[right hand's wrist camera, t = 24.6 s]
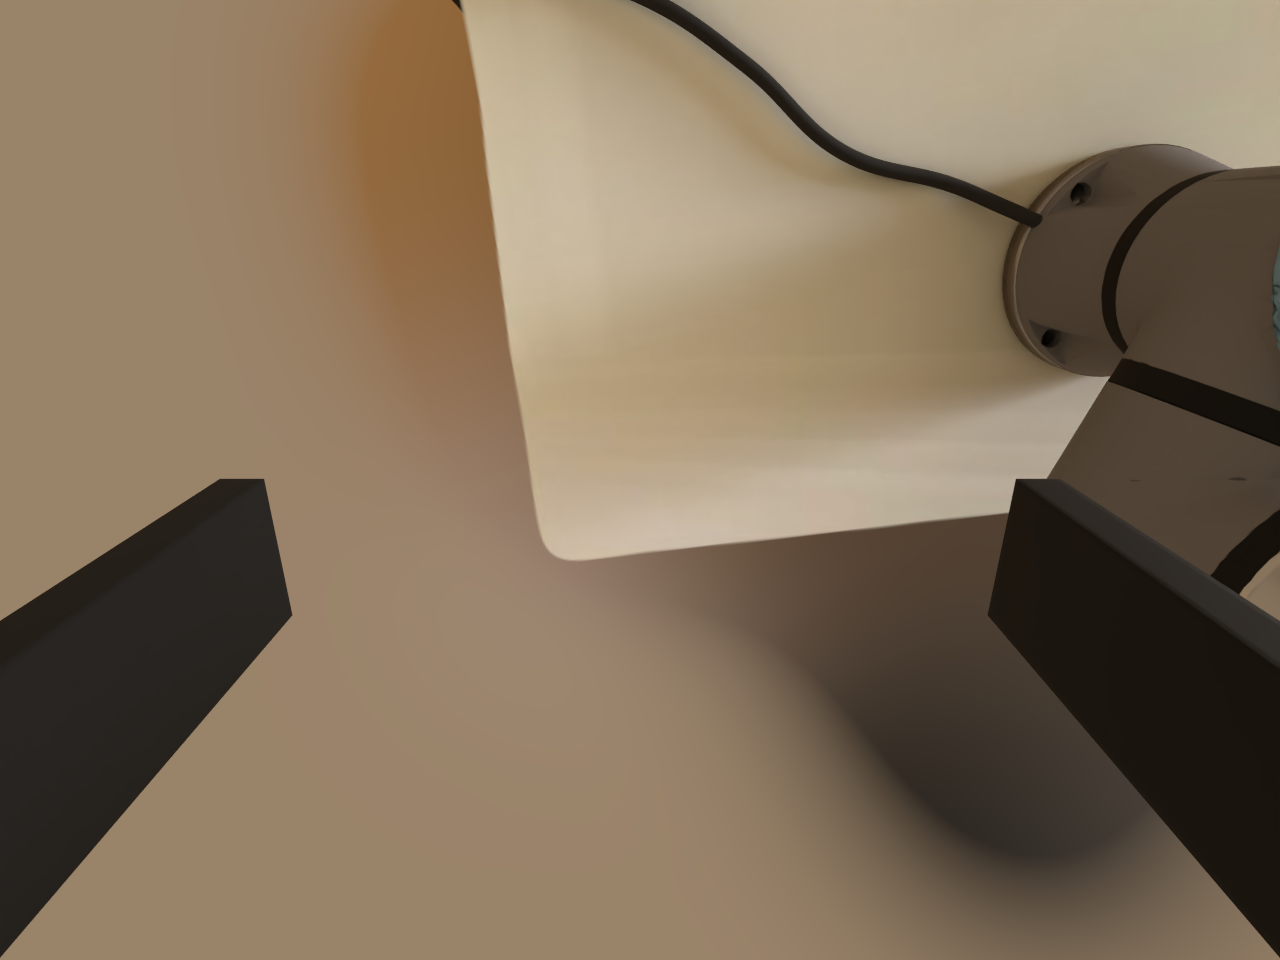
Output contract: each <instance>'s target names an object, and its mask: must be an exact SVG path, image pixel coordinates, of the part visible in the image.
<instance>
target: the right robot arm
mask: <svg viewBox="0 0 1280 960" xmlns="http://www.w3.org/2000/svg"><path fill="white" fill-rule="evenodd" d="M452 1H453V2H454V3H455V4H456V5H457V7H458V8H459V9H460V10H461V11H462V12H463V8H462V3H461V0H452ZM631 1H634V2H636V3H638V4H640V5H642V6H645V7H647V8H649V9H651V10H653V11H655V12H657V13H658V14H660V15H662V16H664V17H666V18H667V19H669V20H671V21H673V22H674V23H676V24H677V25H679V26H681V27H682V28H684V29H685V30H687V31H688V32H690V33H691V34H693V35H694V36H695V37H697V38H698V39H700V40H701V41H702V42H704V43H705V44H707V45H708V46H709V47H711V48H712V49H713V50H714V51H716V52H717V53H718V54H720V55H721V56H722V57H724V58H725V59H726V60H727V61H729V62H730V63H731V64H733V65H734V66H735V67H736V68H738V69H739V70H740V71H742V72H743V73H744V74H745V75H747V76H748V77H749V78H750V79H752V80H753V81H754V82H755V83H756V84H757V85H758V86H759V87H761V88H762V89H763V90H764V91H765V92H766V93H767V94H768V95H769V96H770V97H771V98H772V99H773V100H774V102H775V103H776V104H777V105H778V106H779V107H780V108H781V109H782V110H783V111H784V112H785V113H786V114H787V116H788V117H789V118H790V119H791V120H792V121H793V122H794V123H795V124H796V125H797V126H798V127H799V128H800V129H801V130H802V131H803V132H804V133H805V134H806V135H807V136H808V137H809V138H810V139H811V140H813V141H814V142H815V143H816V144H818V145H819V146H820V147H821V148H823V149H824V150H826V151H827V152H828V153H830V154H832V155H833V156H835V157H837V158H838V159H840V160H842V161H844V162H846V163H848V164H850V165H852V166H854V167H856V168H859V169H861V170H864V171H867V172H870V173H873V174H876V175H880V176H884V177H888V178H893V179H898V180H903V181H908V182H913V183H918V184H922V185H927V186H931V187H934V188H938V189H941V190H944V191H947V192H950V193H953V194H956V195H959V196H961V197H963V198H966V199H968V200H970V201H973V202H975V203H977V204H979V205H981V206H984V207H986V208H988V209H990V210H993V211H995V212H997V213H999V214H1002V215H1004V216H1006V217H1009V218H1011V219H1013V220H1015V221H1018V222H1020V223H1019V225H1018V227H1017V229H1016V231H1015V233H1014V236H1013V238H1012V241H1011V243H1010V246H1009V249H1008V252H1007V256H1006V260H1005V265H1004V272H1003V299H1004V305H1005V310H1006V313H1007V317H1008V319H1009V322H1010V324H1011V327H1012V328H1013V330H1014V332H1015V334H1016V335H1017V337H1018V338H1019V340H1020V341H1021V342H1022V343H1023V344H1024V346H1025V347H1026V348H1027V349H1028V350H1029V351H1031V352H1032V353H1033V354H1034V355H1035V356H1037V357H1038V358H1040V359H1041V360H1043V361H1045V362H1047V363H1049V364H1051V365H1054V366H1056V367H1059V368H1062V369H1064V370H1067V371H1070V372H1072V373H1076V374H1080V375H1086V376H1097V377H1106V376H1111V377H1110V378H1109V380H1108V381H1107V382H1106V384H1105V385H1104V387H1103V389H1102V390H1101V392H1100V394H1099V395H1098V397H1097V398H1096V400H1095V402H1094V403H1093V405H1092V406H1091V408H1090V410H1089V411H1088V413H1087V415H1086V416H1085V418H1084V419H1083V421H1082V423H1081V424H1080V426H1079V428H1078V429H1077V431H1076V432H1075V434H1074V436H1073V437H1072V439H1071V440H1070V442H1069V444H1068V445H1067V447H1066V449H1065V450H1064V452H1063V453H1062V455H1061V457H1060V458H1059V460H1058V461H1057V463H1056V465H1055V466H1054V468H1053V470H1052V471H1051V473H1050V474H1049V476H1048V478H1047V479H1016V482H1015V487H1014V491H1013V496H1012V501H1011V506H1010V511H1009V515H1008V520H1007V525H1006V530H1005V535H1004V539H1003V544H1002V549H1001V554H1000V559H999V563H998V568H997V573H996V578H995V582H994V587H993V592H992V597H991V602H990V607H989V611H988V616H989V617H990V618H991V620H992V621H993V622H994V623H995V624H996V625H997V627H998V628H999V629H1000V630H1001V631H1002V633H1003V634H1004V635H1005V636H1006V637H1007V638H1008V640H1009V641H1010V642H1011V643H1012V644H1013V645H1014V647H1015V648H1016V649H1017V650H1018V651H1019V652H1020V654H1021V655H1022V656H1023V657H1024V658H1025V659H1026V661H1027V662H1028V663H1029V664H1030V665H1031V667H1032V668H1033V669H1034V670H1035V671H1036V672H1037V674H1038V675H1039V676H1040V677H1041V678H1042V679H1043V681H1044V682H1045V683H1046V684H1047V685H1048V686H1049V688H1050V689H1051V690H1052V691H1053V692H1054V693H1055V695H1056V696H1057V697H1058V698H1059V699H1060V700H1061V702H1062V703H1063V704H1064V705H1065V706H1066V707H1067V709H1068V710H1069V711H1070V712H1071V713H1072V715H1073V716H1074V717H1075V718H1076V719H1077V720H1078V722H1079V723H1080V724H1081V725H1082V726H1083V727H1084V729H1085V730H1086V731H1087V732H1088V733H1089V734H1090V736H1091V737H1092V738H1093V739H1094V740H1095V742H1096V743H1097V744H1098V745H1099V746H1100V747H1101V749H1102V750H1103V751H1104V752H1105V753H1106V754H1107V755H1108V757H1109V758H1110V759H1111V760H1112V761H1113V763H1114V764H1115V765H1116V766H1117V767H1118V768H1119V770H1120V771H1121V772H1122V773H1123V774H1124V775H1125V777H1126V778H1127V779H1128V780H1129V781H1130V783H1131V784H1132V785H1133V786H1134V787H1135V788H1136V790H1137V791H1138V792H1139V793H1140V794H1141V795H1142V797H1143V798H1144V799H1145V800H1146V801H1147V802H1148V804H1149V805H1150V806H1151V807H1152V808H1153V809H1154V811H1155V812H1156V813H1157V814H1158V815H1159V817H1160V818H1161V819H1162V820H1163V821H1164V822H1165V824H1166V825H1167V826H1168V827H1169V828H1170V829H1171V831H1172V832H1173V833H1174V834H1175V835H1176V836H1177V838H1178V839H1179V840H1180V841H1181V842H1182V843H1183V845H1184V846H1185V847H1186V848H1187V849H1188V851H1189V852H1190V853H1191V854H1192V855H1193V856H1194V858H1195V859H1196V860H1197V861H1198V862H1199V863H1200V865H1201V866H1202V867H1203V868H1204V869H1205V870H1206V872H1207V873H1208V874H1209V875H1210V876H1211V877H1212V879H1213V880H1214V881H1215V882H1216V883H1217V884H1218V886H1219V887H1220V888H1221V889H1222V890H1223V892H1224V893H1225V894H1226V895H1227V896H1228V897H1229V899H1230V900H1231V901H1232V902H1233V903H1234V904H1235V906H1236V907H1237V908H1238V909H1239V910H1240V911H1241V913H1242V914H1243V915H1244V916H1245V917H1246V918H1247V920H1248V921H1249V922H1250V923H1251V924H1252V925H1253V927H1254V928H1255V929H1256V930H1257V931H1258V933H1259V934H1260V935H1261V936H1262V937H1263V938H1264V940H1265V941H1266V942H1267V943H1268V944H1269V945H1270V947H1271V948H1272V949H1273V950H1274V951H1275V952H1276V954H1277V955H1278V956H1279V957H1280V166H1270V167H1257V168H1244V169H1232V168H1230V167H1228V166H1226V165H1224V164H1221V163H1219V162H1217V161H1215V160H1213V159H1211V158H1209V157H1206V156H1204V155H1202V154H1200V153H1197V152H1195V151H1192V150H1190V149H1187V148H1183V147H1180V146H1175V145H1168V144H1147V145H1138V146H1130V147H1123V148H1117V149H1113V150H1109V151H1106V152H1103V153H1100V154H1097V155H1095V156H1092V157H1090V158H1088V159H1086V160H1084V161H1082V162H1080V163H1079V164H1077V165H1075V166H1073V167H1072V168H1070V169H1069V170H1067V171H1066V172H1065V173H1063V174H1062V175H1060V176H1059V177H1058V178H1057V179H1056V180H1054V181H1053V182H1052V183H1051V184H1050V185H1049V186H1048V187H1047V188H1046V189H1045V190H1044V191H1043V192H1042V193H1041V194H1040V195H1039V196H1038V198H1037V199H1036V200H1035V201H1034V202H1033V204H1032V205H1031V206H1030V208H1029V209H1027V208H1024V207H1022V206H1020V205H1017V204H1015V203H1013V202H1010V201H1008V200H1006V199H1004V198H1001V197H999V196H997V195H995V194H992V193H990V192H988V191H986V190H983V189H981V188H979V187H977V186H974V185H972V184H970V183H967V182H965V181H962V180H959V179H956V178H953V177H950V176H947V175H944V174H940V173H937V172H933V171H929V170H924V169H920V168H915V167H910V166H905V165H900V164H895V163H891V162H887V161H883V160H879V159H876V158H873V157H870V156H868V155H865V154H863V153H860V152H858V151H856V150H854V149H852V148H850V147H848V146H846V145H845V144H843V143H842V142H840V141H838V140H837V139H835V138H834V137H833V136H831V135H830V134H828V133H827V132H826V131H825V130H824V129H822V128H821V127H820V126H819V125H818V124H817V123H816V122H815V121H813V120H812V118H811V117H810V116H809V115H808V114H807V113H806V112H805V111H804V110H803V109H802V108H801V107H800V106H799V105H798V104H797V103H796V102H795V100H794V99H793V98H792V97H791V96H790V95H789V94H788V93H787V92H786V91H785V90H784V88H783V87H782V86H781V85H780V84H779V83H778V82H777V81H776V80H775V79H774V78H773V77H772V76H771V75H770V74H769V73H767V72H766V71H765V70H764V69H763V68H762V67H761V66H760V65H758V64H757V63H756V62H755V61H753V60H752V59H751V58H750V57H748V56H747V55H746V54H745V53H743V52H742V51H741V50H739V49H738V48H737V47H736V46H734V45H733V44H732V43H731V42H729V41H728V40H727V39H725V38H724V37H723V36H721V35H720V34H719V33H718V32H716V31H715V30H714V29H712V28H711V27H710V26H708V25H707V24H705V23H704V22H703V21H701V20H700V19H698V18H697V17H695V16H694V15H692V14H691V13H689V12H688V11H686V10H685V9H683V8H682V7H680V6H678V5H676V4H675V3H673V2H671V1H670V0H631ZM463 13H464V12H463ZM291 616H292V611H291V606H290V602H289V597H288V592H287V587H286V582H285V578H284V573H283V568H282V563H281V559H280V554H279V549H278V544H277V539H276V535H275V530H274V525H273V520H272V516H271V511H270V506H269V501H268V496H267V491H266V487H265V482H264V479H219V480H218V481H216V482H215V483H213V484H211V485H210V486H208V487H207V488H205V489H204V490H202V491H201V492H199V493H197V494H196V495H194V496H193V497H191V498H190V499H188V500H187V501H185V502H184V503H182V504H180V505H179V506H177V507H176V508H174V509H173V510H171V511H170V512H168V513H167V514H165V515H164V516H162V517H160V518H159V519H157V520H156V521H154V522H153V523H151V524H150V525H148V526H146V527H145V528H143V529H142V530H140V531H139V532H137V533H136V534H134V535H132V536H131V537H129V538H128V539H126V540H125V541H123V542H122V543H120V544H119V545H117V546H115V547H114V548H112V549H111V550H109V551H108V552H106V553H105V554H103V555H101V556H100V557H98V558H97V559H95V560H94V561H92V562H91V563H89V564H88V565H86V566H84V567H83V568H81V569H80V570H78V571H77V572H75V573H74V574H72V575H71V576H69V577H68V578H66V579H64V580H63V581H61V582H60V583H58V584H57V585H55V586H54V587H52V588H51V589H49V590H47V591H46V592H44V593H43V594H41V595H40V596H38V597H36V598H35V599H33V600H32V601H30V602H29V603H27V604H26V605H24V606H23V607H21V608H19V609H18V610H16V611H15V612H13V613H12V614H10V615H9V616H7V617H5V618H4V619H2V620H1V621H0V957H1V956H2V955H3V954H4V952H5V951H6V950H7V949H8V948H9V947H10V945H11V944H12V943H13V942H14V941H15V939H16V938H17V937H18V936H19V935H20V934H21V932H22V931H23V930H24V929H25V928H26V927H27V926H28V924H29V923H30V922H31V921H32V920H33V918H34V917H35V916H36V915H37V914H38V913H39V911H40V910H41V909H42V908H43V907H44V906H45V904H46V903H47V902H48V901H49V900H50V899H51V897H52V896H53V895H54V894H55V893H56V892H57V890H58V889H59V888H60V887H61V886H62V884H63V883H64V882H65V881H66V880H67V879H68V877H69V876H70V875H71V874H72V873H73V872H74V870H75V869H76V868H77V867H78V866H79V865H80V863H81V862H82V861H83V860H84V859H85V858H86V856H87V855H88V854H89V853H90V852H91V851H92V849H93V848H94V847H95V846H96V845H97V843H98V842H99V841H100V840H101V839H102V838H103V836H104V835H105V834H106V833H107V832H108V831H109V829H110V828H111V827H112V826H113V825H114V824H115V822H116V821H117V820H118V819H119V818H120V816H121V815H122V814H123V813H124V812H125V811H126V809H127V808H128V807H129V806H130V805H131V804H132V802H133V801H134V800H135V799H136V798H137V797H138V795H139V794H140V793H141V792H142V791H143V790H144V788H145V787H146V786H147V785H148V784H149V783H150V781H151V780H152V779H153V778H154V777H155V775H156V774H157V773H158V772H159V771H160V770H161V768H162V767H163V766H164V765H165V764H166V762H167V761H168V760H169V759H170V758H171V757H172V756H173V754H174V753H175V752H176V751H177V750H178V749H179V747H180V746H181V745H182V744H183V743H184V742H185V740H186V739H187V738H188V737H189V736H190V734H191V733H192V732H193V731H194V730H195V729H196V727H197V726H198V725H199V724H200V723H201V722H202V720H203V719H204V718H205V717H206V716H207V715H208V713H209V712H210V711H211V710H212V709H213V708H214V706H215V705H216V704H217V703H218V702H219V700H220V699H221V698H222V697H223V696H224V695H225V693H226V692H227V691H228V690H229V689H230V688H231V686H232V685H233V684H234V683H235V682H236V681H237V679H238V678H239V677H240V676H241V675H242V673H243V672H244V671H245V670H246V669H247V668H248V667H249V665H250V664H251V663H252V662H253V661H254V659H255V658H256V657H257V656H258V655H259V654H260V652H261V651H262V650H263V649H264V648H265V647H266V645H267V644H268V643H269V642H270V641H271V640H272V638H273V637H274V636H275V635H276V634H277V632H278V631H279V630H280V629H281V628H282V627H283V625H284V624H285V623H286V622H287V621H288V620H289V618H290V617H291Z"/></svg>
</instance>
